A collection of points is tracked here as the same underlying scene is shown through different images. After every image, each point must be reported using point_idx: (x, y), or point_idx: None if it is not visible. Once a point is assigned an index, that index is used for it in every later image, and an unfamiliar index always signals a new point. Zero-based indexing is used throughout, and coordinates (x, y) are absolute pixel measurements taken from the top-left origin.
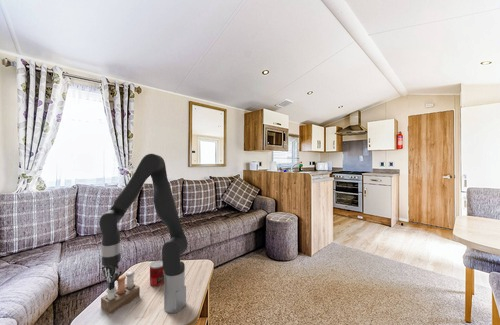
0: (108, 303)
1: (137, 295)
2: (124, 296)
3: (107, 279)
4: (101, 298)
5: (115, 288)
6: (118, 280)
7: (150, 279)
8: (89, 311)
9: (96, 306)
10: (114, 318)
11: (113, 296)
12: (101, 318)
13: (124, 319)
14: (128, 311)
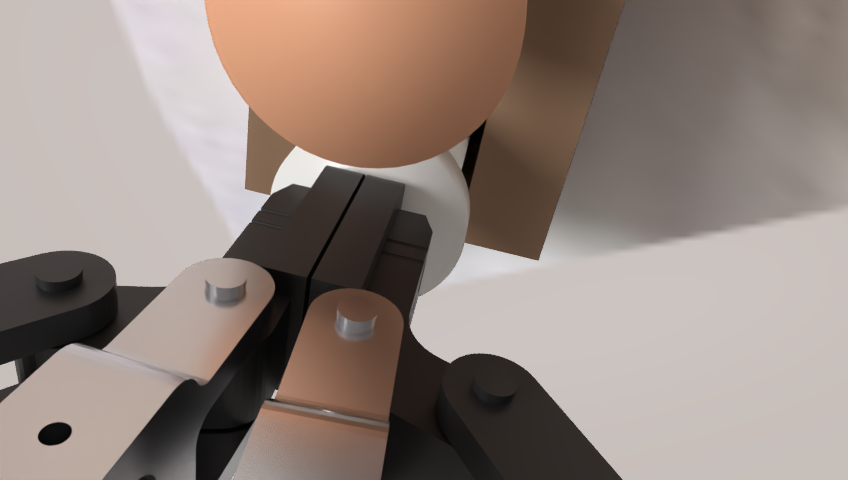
0: (481, 238)
1: None
2: (618, 15)
3: (205, 437)
4: (264, 191)
5: (457, 195)
6: (405, 152)
7: None
8: (230, 200)
9: (211, 112)
10: (653, 215)
11: (461, 160)
12: (485, 249)
13: (814, 198)
14: (768, 62)
